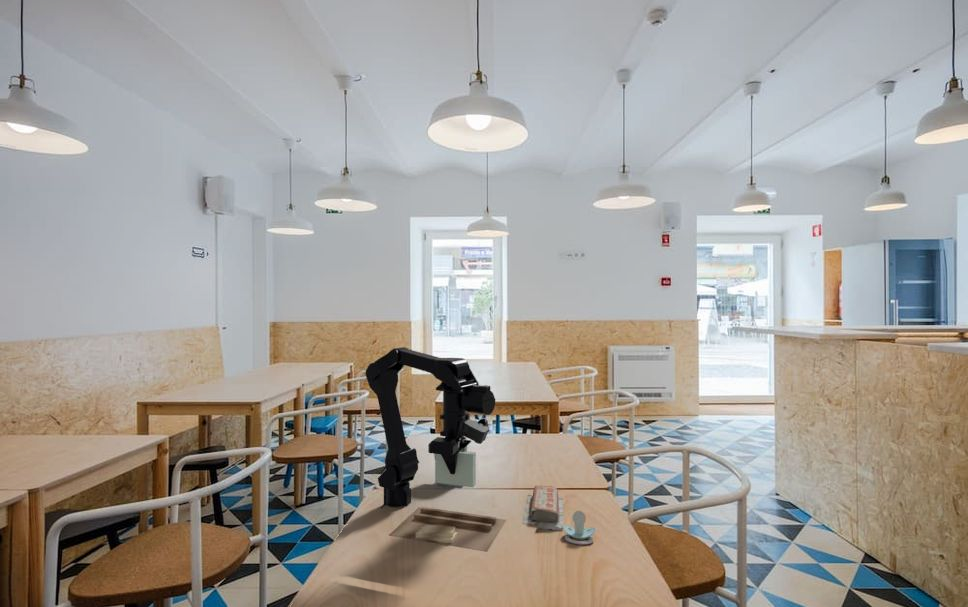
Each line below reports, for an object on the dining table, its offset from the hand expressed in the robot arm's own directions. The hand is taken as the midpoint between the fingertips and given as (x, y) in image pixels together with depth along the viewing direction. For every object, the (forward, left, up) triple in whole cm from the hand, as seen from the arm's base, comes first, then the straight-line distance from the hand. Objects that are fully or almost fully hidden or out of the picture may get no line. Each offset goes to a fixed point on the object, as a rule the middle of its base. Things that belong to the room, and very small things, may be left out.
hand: (454, 472), depth 121 cm
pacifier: (+30, +2, -13) cm, 33 cm away
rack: (0, -4, -13) cm, 13 cm away
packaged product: (+20, +13, -14) cm, 28 cm away
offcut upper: (0, -9, -11) cm, 14 cm away
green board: (0, 0, -3) cm, 3 cm away
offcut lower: (-1, -9, -12) cm, 15 cm away
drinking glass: (-11, +24, -13) cm, 30 cm away
